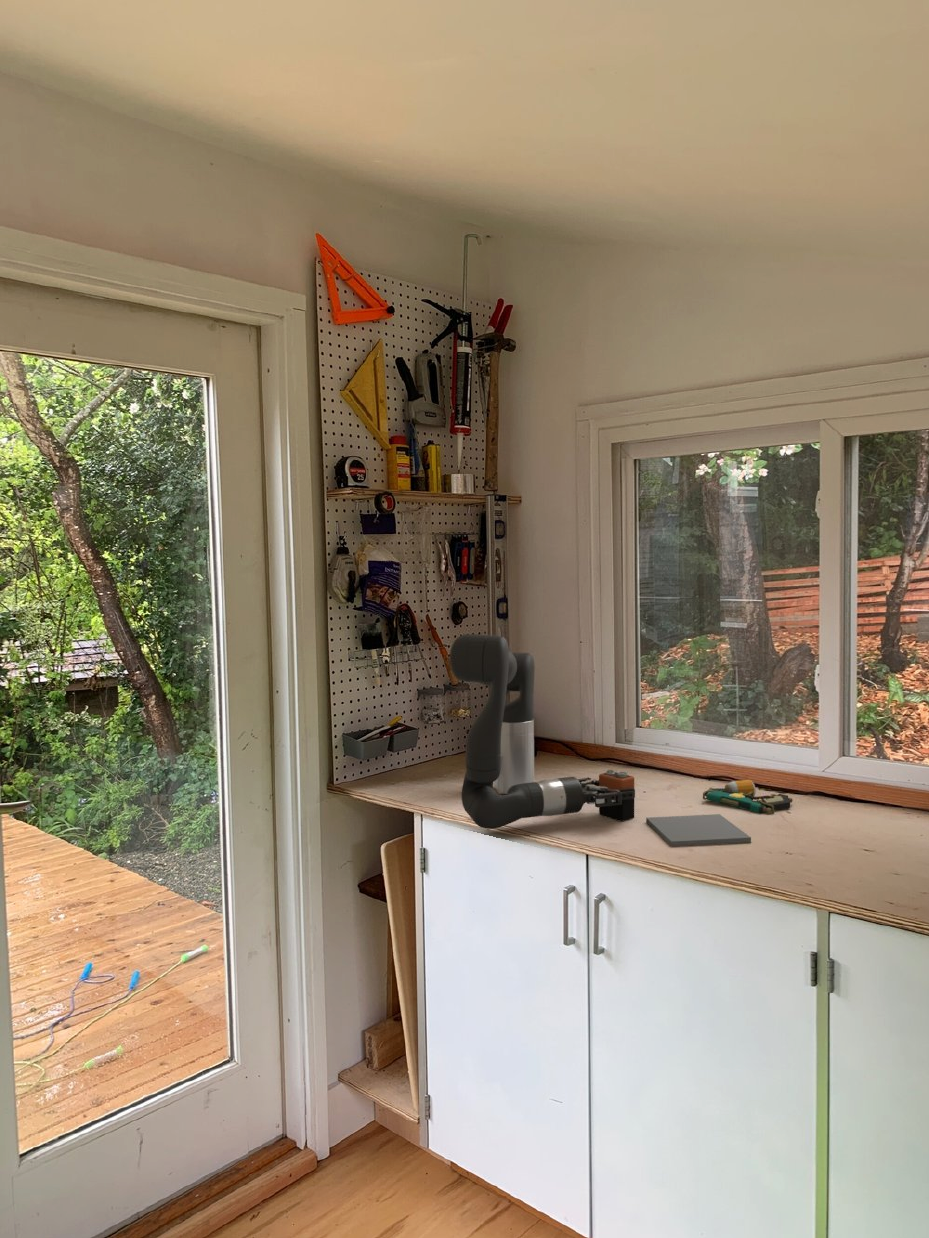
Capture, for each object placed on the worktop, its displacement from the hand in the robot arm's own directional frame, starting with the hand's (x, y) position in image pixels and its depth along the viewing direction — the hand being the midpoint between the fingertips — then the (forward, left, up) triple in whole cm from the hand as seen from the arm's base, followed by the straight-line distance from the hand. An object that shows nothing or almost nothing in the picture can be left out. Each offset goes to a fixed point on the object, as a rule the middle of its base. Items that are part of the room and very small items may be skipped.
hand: (623, 788), depth 197 cm
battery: (-2, 0, -6) cm, 7 cm away
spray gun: (+30, +4, -7) cm, 31 cm away
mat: (+11, -13, -6) cm, 19 cm away
